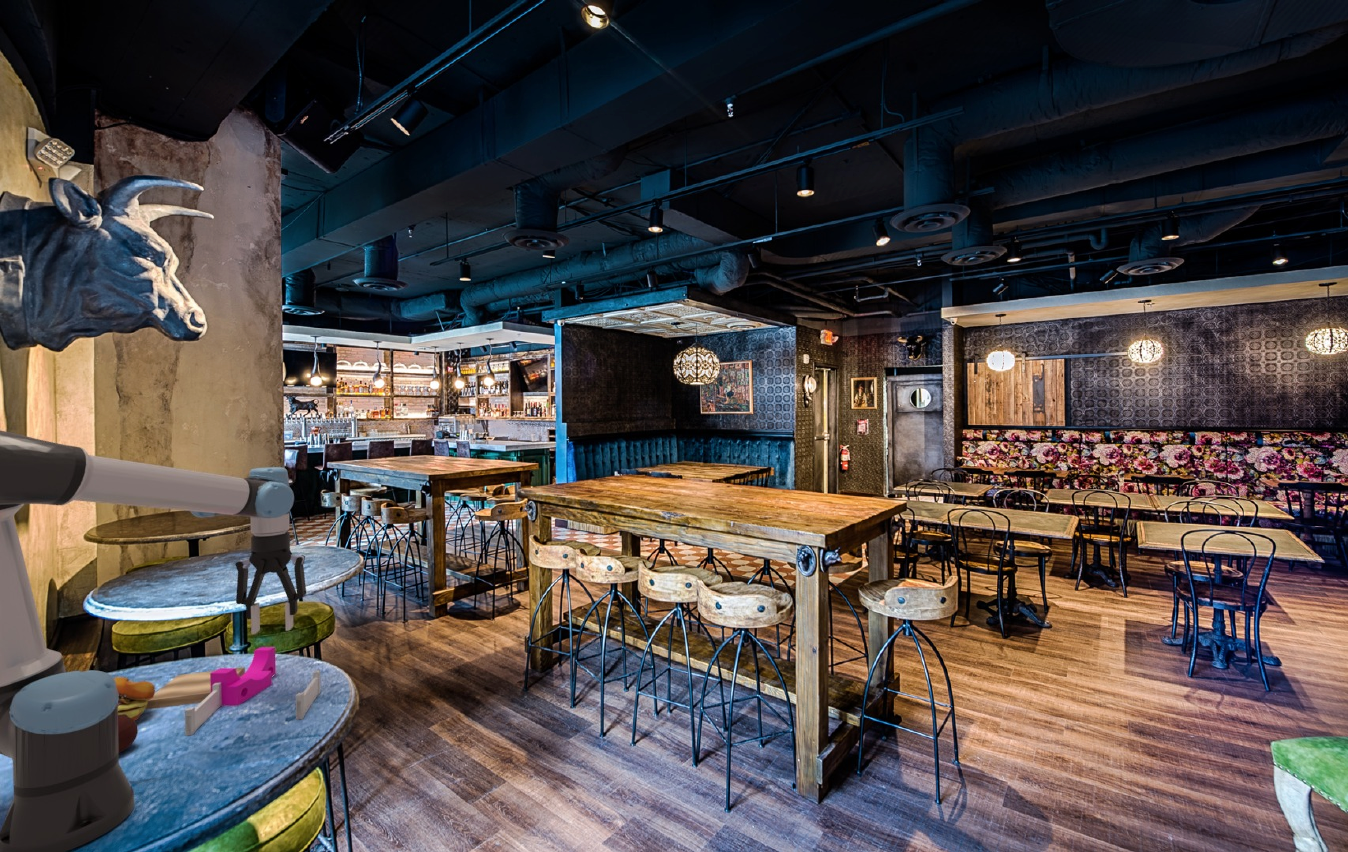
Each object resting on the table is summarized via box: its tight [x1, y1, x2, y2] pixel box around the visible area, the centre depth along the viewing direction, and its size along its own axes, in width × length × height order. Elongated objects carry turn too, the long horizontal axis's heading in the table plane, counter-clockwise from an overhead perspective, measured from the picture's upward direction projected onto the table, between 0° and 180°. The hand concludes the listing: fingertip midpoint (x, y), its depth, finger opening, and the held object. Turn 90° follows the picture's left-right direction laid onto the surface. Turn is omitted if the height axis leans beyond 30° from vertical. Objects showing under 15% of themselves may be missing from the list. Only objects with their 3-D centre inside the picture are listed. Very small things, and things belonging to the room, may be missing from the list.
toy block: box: [210, 646, 277, 706], centre depth 138 cm, size 15×6×8 cm, turn 177°
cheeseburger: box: [113, 676, 156, 722], centre depth 123 cm, size 10×11×10 cm
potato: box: [118, 715, 139, 754], centre depth 112 cm, size 7×8×7 cm
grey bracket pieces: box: [184, 669, 322, 737], centre depth 127 cm, size 13×21×5 cm, turn 107°
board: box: [145, 666, 246, 710], centre depth 138 cm, size 14×14×2 cm
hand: (272, 630), depth 136 cm, fingers open, 6 cm apart
